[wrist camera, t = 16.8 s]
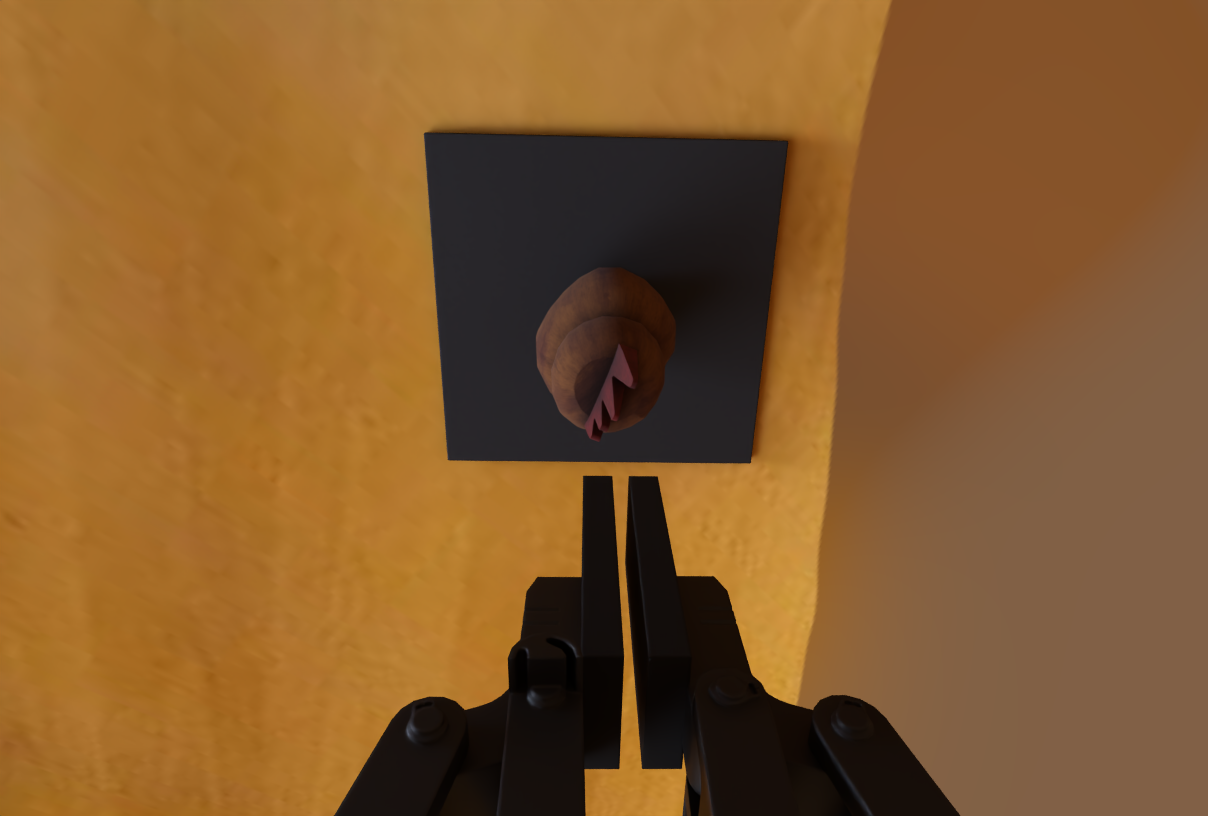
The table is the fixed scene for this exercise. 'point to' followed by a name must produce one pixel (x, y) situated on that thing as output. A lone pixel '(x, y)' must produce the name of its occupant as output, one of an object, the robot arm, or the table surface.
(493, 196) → the mat
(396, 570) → the table surface
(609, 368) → the wooden figurine
